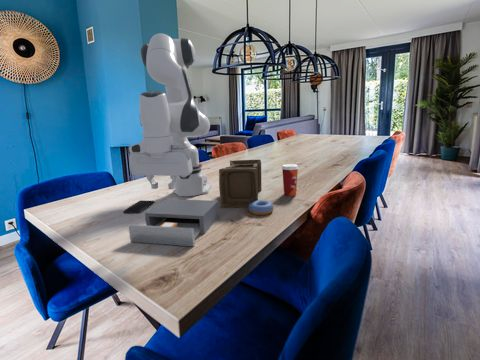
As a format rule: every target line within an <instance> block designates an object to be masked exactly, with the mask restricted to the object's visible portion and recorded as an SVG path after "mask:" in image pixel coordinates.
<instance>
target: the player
mask: <svg viewBox="0 0 480 360" xmlns="http://www.w3.org/2000/svg"><path fill="white" fill-rule="evenodd" d="M219 210H220V209H219V200H210V199H209V200H206V199H205V200H203V199H182V198H181V199H178V198H177V199H176V198H175V199H172V198H166V199H164V200H162V201H160V202H159V203H158V204H156V205H155V206H153V207H152V208H150V209H148V210H147V211H146V212H144V216H145V218H144V219H145V225H148V226H155V225H156V224H157V223H159V222H164V221H165V220H166V219H167V218H170V219H171V218H173V219H187V220H188V219H189V220H199V224H200V233H199V234H201V235H205V234H206V233H207V232H208V230H209V229H210V228H211V227H212V225H214V223H215V222H216V221H217V220H218V219H219V218H220V211H219Z"/></svg>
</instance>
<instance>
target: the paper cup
mask: <svg viewBox="0 0 480 360" xmlns="http://www.w3.org/2000/svg"><path fill="white" fill-rule="evenodd" d="M281 169H282V182H283V185H282V186H283V194H284V196H285V197H286V196H287V197H294V196H296V195H297V186H298V170H299V167H298V164H295V163H286V164H283V165H282V167H281Z"/></svg>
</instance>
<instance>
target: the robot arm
mask: <svg viewBox="0 0 480 360" xmlns="http://www.w3.org/2000/svg"><path fill="white" fill-rule="evenodd" d="M195 58H196V49H195V46H194V44H193V43H192V41H191V40H190V39H189V38H183V37H181V38H171V36H170V35H168V34H165V33H156V34H154V35H153V36H152V37H151V38H150V40H149V42H146V43H144V44H142V46H141V48H140V59H141V62H142V64H143V65H144V67H145V68H146V70H147V74H148V75H149V77H150V78H151V79H152V80H153V81H154V82H155V83H158V84H161V85H163V86H164V88H165V89H164V90H165V92H164V91H162V90H161V91H160V90H151V91H150V90H149V91H144V92H142V93H140V95H139V101H138V102H139V107H138V109H139V122H140V126H141V127H142V141H139V142H138V143H135V144H131V145H129V146H128V152H129V153H130V154H129V157H128V158H129V159H128V162H129V170H130V173H131V175H133V176H146V180H147V181H148V182H149V184H150V187H151V189H152V190H154V189H155V190H156V189H158V188H159V182H157V181H156V180H155V179H154V177H155V176H170V177H169V178H170V180H171V181H170V183H168V184H167V187H168V189H169V190H172V192H173V193H175V195H177V196H179V197H195V196H199V195H204V194H209V192H210V190H211V188H212V186H213V185H212V183H210V182H209V183H208V177H207V175H206V174H205V173H204V172H202V168H203V163H202V162H201V163H200V160H199V150H198V148H197V147H196V146H195V145H193V144H191V142H190V141H189V139H188V138H198V137H203V136H206V135H208V133H209V132H210V128H211V123H210V120H209V118H208V117H207V115H205V114H204V113H202V112H201V111H200V109H199V108H198V106H197V104H196V100H195V97H194V94H193V90H192V85H191V82H190V79H189V76H188V70H187V69H189V68H190V67H191V65H193V64H194V62H195Z"/></svg>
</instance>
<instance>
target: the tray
mask: <svg viewBox="0 0 480 360" xmlns="http://www.w3.org/2000/svg"><path fill="white" fill-rule="evenodd" d="M164 222H165V221H162V222H159V223H157V224H156V225H155V226H148V225H146V224H129V225H128V234H129V239H130V242H132V243H145V244H157V245H158V244H160V245H171V246H185V247H195V245H196V243H195V239H196V238H197V237H198V235H199V234H201V233H200V223H190V222H189V223H188V222H174V221H173V223H177V226H178V227H164V226H161V225H162V224H163V223H164Z"/></svg>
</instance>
